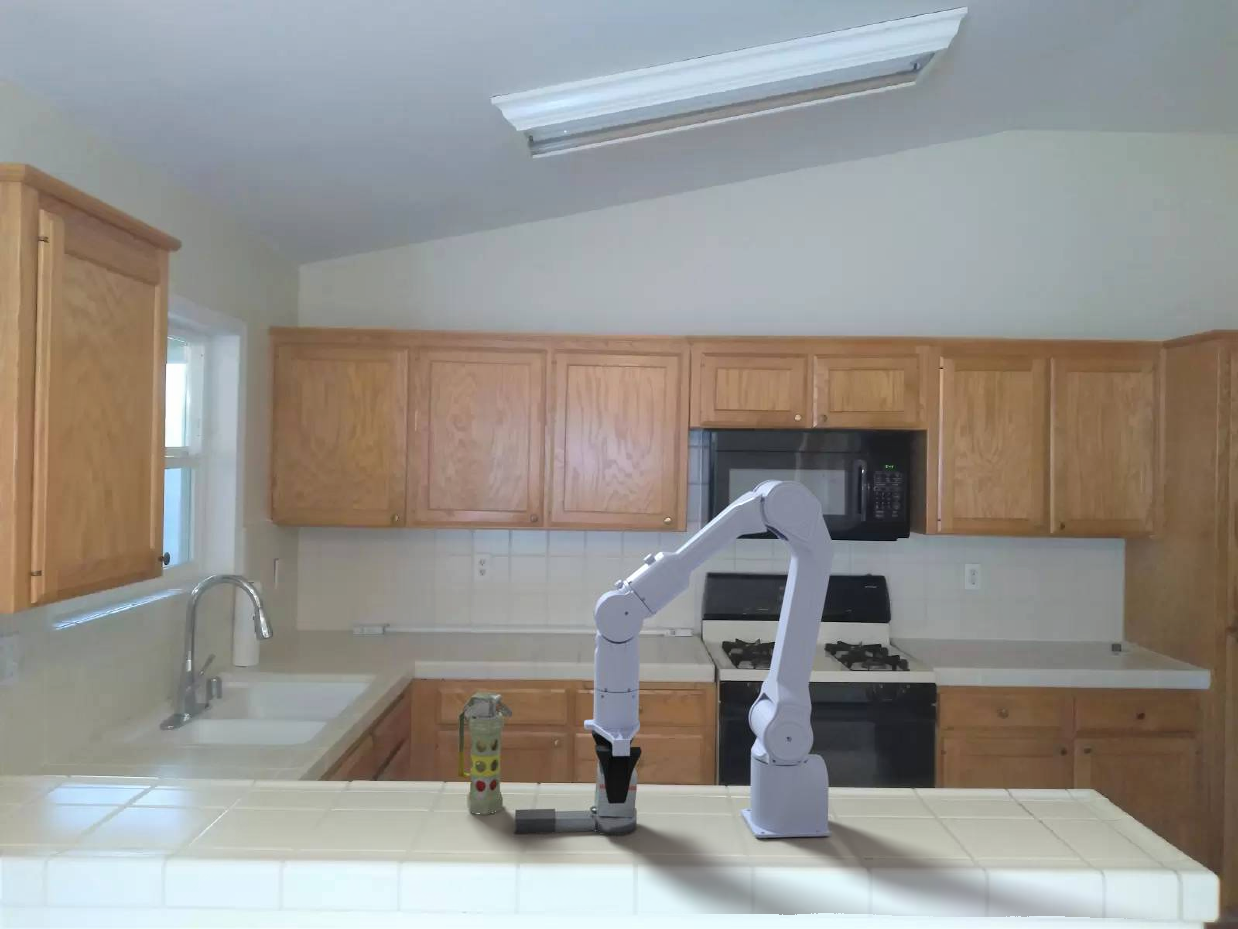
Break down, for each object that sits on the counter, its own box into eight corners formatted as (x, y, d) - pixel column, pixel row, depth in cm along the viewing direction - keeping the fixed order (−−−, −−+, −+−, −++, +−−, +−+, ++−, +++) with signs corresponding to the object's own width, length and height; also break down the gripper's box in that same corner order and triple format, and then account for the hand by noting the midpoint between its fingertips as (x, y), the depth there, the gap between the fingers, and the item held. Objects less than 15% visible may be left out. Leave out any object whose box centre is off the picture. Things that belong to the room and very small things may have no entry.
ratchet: (633, 816, 112) (634, 782, 112) (639, 835, 106) (639, 798, 106) (515, 819, 111) (516, 784, 111) (514, 838, 105) (515, 801, 105)
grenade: (498, 816, 111) (500, 700, 112) (449, 811, 113) (451, 697, 113) (513, 798, 118) (515, 688, 118) (467, 793, 119) (469, 685, 119)
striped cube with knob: (629, 803, 112) (634, 756, 112) (634, 817, 107) (638, 769, 107) (594, 801, 111) (598, 754, 111) (596, 815, 106) (601, 767, 106)
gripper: (581, 673, 116) (580, 774, 116) (588, 703, 101) (586, 818, 101) (633, 673, 117) (632, 773, 117) (648, 702, 102) (646, 817, 102)
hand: (614, 794), depth 109 cm, fingers closed on striped cube with knob, 4 cm apart
